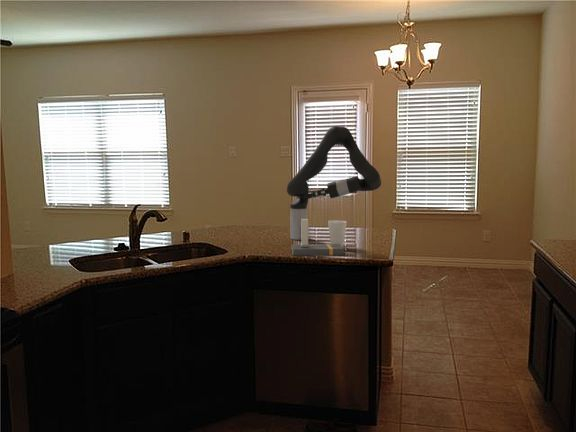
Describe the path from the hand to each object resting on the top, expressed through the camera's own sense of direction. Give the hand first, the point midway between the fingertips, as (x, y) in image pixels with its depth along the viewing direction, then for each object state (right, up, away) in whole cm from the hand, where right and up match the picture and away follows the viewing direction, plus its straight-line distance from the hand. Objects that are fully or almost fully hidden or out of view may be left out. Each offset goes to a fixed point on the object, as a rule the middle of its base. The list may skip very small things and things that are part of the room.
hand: (305, 196), depth 227 cm
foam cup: (+17, -25, +18) cm, 35 cm away
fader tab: (0, -24, +2) cm, 24 cm away
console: (+6, -27, +3) cm, 28 cm away
